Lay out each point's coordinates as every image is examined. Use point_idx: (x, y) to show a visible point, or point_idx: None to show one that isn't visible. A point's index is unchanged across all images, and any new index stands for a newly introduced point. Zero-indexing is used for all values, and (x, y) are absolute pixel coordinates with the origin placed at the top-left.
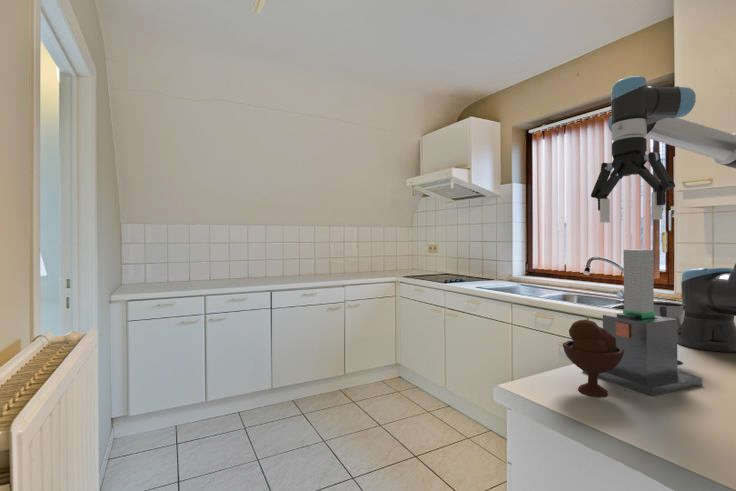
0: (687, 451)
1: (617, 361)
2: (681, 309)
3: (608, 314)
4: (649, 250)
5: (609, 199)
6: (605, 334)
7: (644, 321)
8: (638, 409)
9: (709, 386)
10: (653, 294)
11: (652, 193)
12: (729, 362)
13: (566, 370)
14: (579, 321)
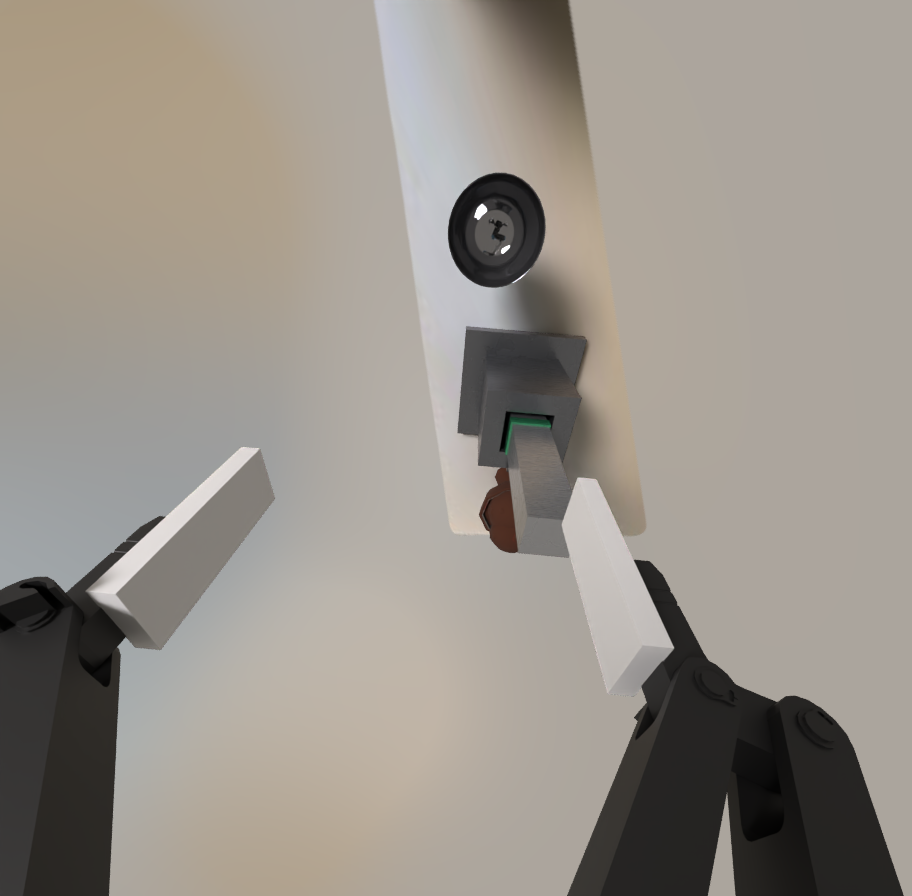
0: (619, 517)
1: None
2: (541, 242)
3: (481, 454)
4: None
5: (118, 588)
6: None
7: None
8: None
9: (592, 332)
10: (555, 446)
11: (612, 684)
12: (579, 74)
13: (444, 442)
14: (507, 551)
